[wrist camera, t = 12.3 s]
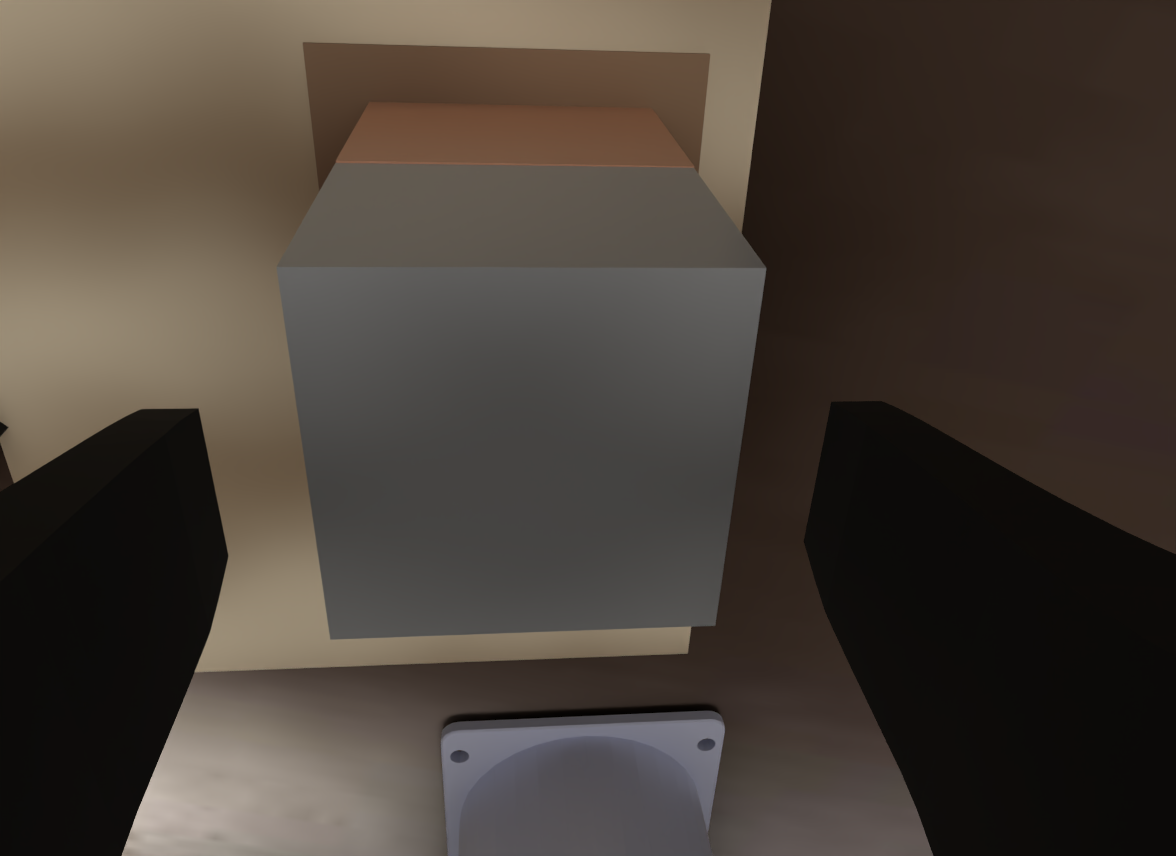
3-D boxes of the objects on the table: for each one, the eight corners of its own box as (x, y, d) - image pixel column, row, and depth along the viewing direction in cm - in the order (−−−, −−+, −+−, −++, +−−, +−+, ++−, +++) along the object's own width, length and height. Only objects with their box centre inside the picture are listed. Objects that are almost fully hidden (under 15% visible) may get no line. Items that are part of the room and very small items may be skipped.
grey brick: (665, 462, 16) (715, 626, 12) (367, 468, 15) (329, 639, 12) (693, 167, 13) (766, 267, 10) (336, 162, 12) (276, 267, 9)
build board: (680, 626, 24) (688, 656, 23) (94, 647, 23) (77, 680, 22) (829, -605, 13) (856, -645, 12) (-345, -724, 11) (-422, -781, 10)
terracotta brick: (634, 357, 19) (665, 462, 15) (389, 359, 18) (366, 466, 15) (651, 107, 16) (693, 166, 13) (369, 101, 16) (335, 160, 12)
